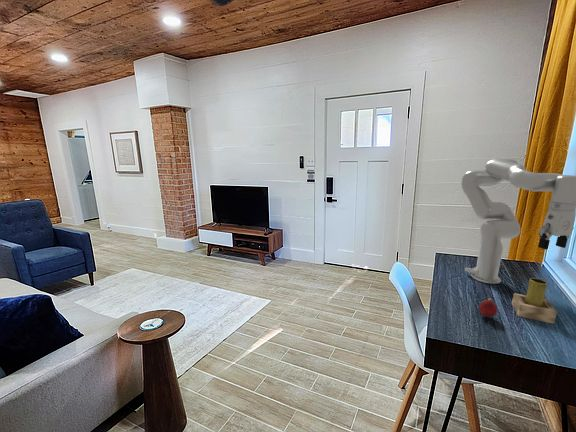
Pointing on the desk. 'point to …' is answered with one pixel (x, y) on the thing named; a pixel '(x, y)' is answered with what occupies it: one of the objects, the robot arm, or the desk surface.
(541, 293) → the vase
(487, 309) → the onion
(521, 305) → the wooden box
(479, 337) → the desk surface
